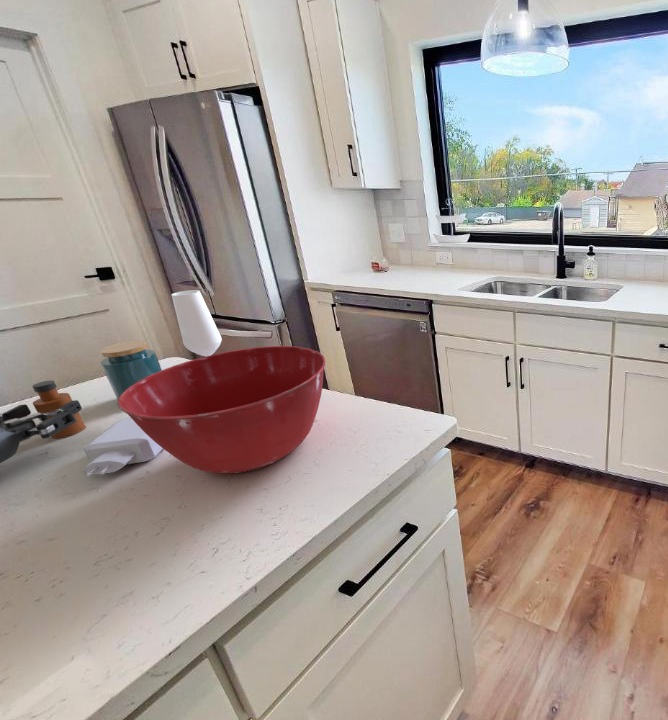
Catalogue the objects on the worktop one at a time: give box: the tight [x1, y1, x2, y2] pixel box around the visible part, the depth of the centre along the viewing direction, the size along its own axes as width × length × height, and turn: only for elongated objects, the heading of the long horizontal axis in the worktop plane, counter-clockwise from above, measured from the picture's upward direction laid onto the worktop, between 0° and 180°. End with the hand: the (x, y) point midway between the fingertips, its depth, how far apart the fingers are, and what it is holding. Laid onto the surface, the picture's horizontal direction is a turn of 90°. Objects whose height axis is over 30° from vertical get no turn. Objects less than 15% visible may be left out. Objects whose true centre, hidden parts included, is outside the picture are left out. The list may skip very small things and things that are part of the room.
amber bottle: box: [31, 380, 87, 439], centre depth 81 cm, size 5×5×11 cm
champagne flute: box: [171, 289, 222, 357], centre depth 93 cm, size 7×7×24 cm
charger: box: [82, 417, 164, 477], centre depth 73 cm, size 5×9×15 cm
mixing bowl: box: [117, 345, 326, 474], centre depth 73 cm, size 28×28×16 cm
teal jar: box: [99, 340, 163, 401], centre depth 94 cm, size 9×9×12 cm
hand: (52, 406), depth 80 cm, fingers open, 8 cm apart
